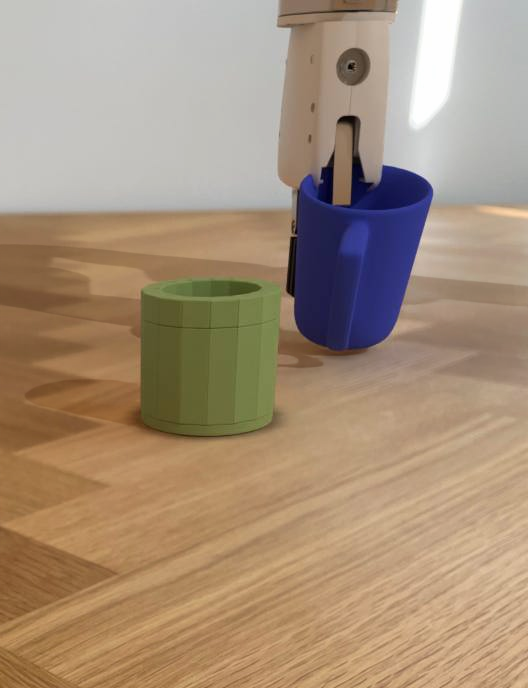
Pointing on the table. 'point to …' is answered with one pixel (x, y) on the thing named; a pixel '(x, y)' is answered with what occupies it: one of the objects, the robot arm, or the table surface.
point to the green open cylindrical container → (209, 354)
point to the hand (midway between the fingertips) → (310, 295)
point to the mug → (357, 257)
